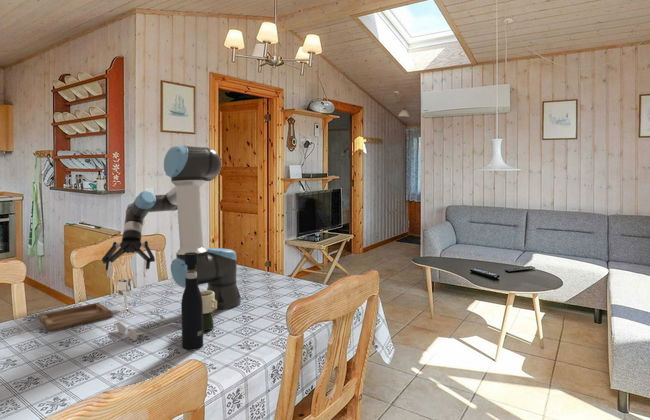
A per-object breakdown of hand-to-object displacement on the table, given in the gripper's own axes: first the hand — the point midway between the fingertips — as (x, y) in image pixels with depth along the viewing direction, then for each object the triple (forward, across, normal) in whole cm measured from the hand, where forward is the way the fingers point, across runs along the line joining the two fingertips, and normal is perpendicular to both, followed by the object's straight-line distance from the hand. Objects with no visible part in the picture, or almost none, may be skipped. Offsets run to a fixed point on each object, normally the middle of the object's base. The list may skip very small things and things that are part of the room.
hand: (126, 276), depth 173 cm
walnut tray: (+19, +15, +2) cm, 24 cm away
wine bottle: (+42, -28, +26) cm, 57 cm away
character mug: (+33, -31, +16) cm, 48 cm away
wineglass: (+14, -1, -3) cm, 14 cm away
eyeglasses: (+30, -13, +13) cm, 35 cm away
